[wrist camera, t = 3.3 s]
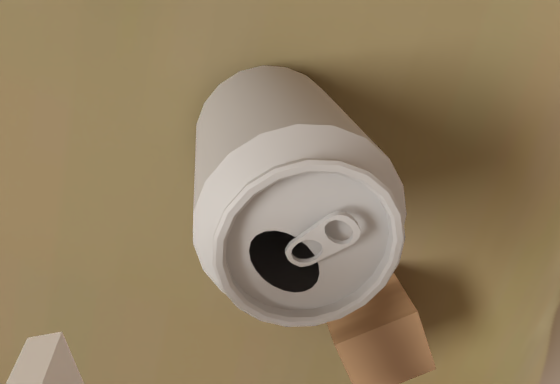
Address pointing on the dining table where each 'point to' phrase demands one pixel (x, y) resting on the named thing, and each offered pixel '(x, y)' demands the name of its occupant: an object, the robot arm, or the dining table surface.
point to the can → (292, 201)
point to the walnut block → (383, 339)
